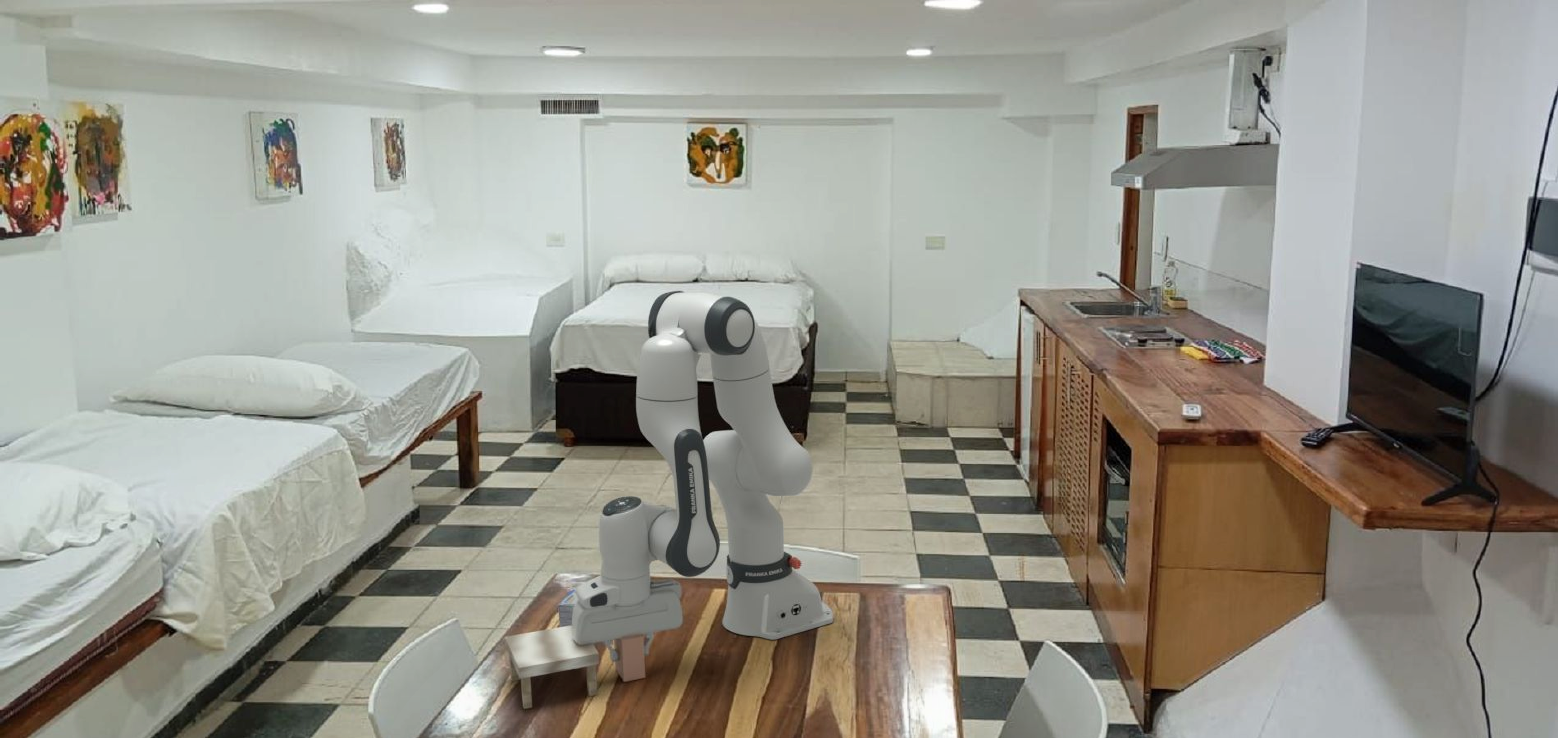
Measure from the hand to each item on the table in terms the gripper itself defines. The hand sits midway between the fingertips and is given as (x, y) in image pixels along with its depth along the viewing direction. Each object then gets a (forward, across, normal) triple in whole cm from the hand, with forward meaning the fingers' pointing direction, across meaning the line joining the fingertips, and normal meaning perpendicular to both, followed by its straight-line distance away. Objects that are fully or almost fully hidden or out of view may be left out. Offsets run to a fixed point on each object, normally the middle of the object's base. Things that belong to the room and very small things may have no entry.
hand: (629, 657), depth 223 cm
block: (+3, 0, 0) cm, 3 cm away
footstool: (+3, +14, -1) cm, 14 cm away
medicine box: (+4, +5, -20) cm, 21 cm away
